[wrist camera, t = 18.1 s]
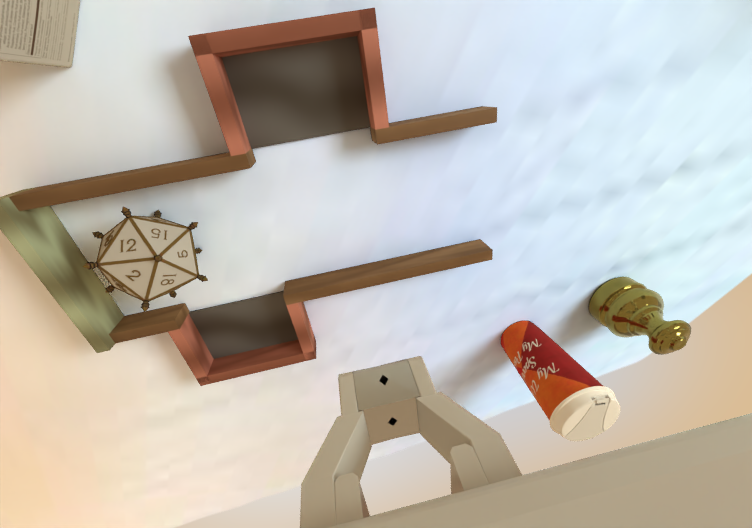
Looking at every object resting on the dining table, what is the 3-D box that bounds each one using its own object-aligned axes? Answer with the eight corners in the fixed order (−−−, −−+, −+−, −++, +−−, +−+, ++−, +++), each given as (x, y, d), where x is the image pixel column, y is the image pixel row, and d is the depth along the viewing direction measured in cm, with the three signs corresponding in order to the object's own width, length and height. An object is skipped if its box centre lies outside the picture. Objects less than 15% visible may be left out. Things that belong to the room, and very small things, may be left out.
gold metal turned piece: (602, 326, 49) (665, 376, 40) (577, 303, 46) (640, 353, 37) (643, 291, 47) (718, 336, 38) (621, 265, 44) (697, 308, 35)
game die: (196, 240, 36) (189, 328, 32) (96, 222, 30) (72, 325, 26) (221, 196, 30) (217, 297, 26) (103, 165, 25) (75, 286, 21)
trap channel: (-54, 81, 24) (-117, 79, 20) (482, -2, 27) (507, -16, 23) (154, 379, 39) (139, 406, 36) (479, 303, 42) (494, 322, 39)
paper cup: (500, 315, 44) (571, 400, 32) (549, 312, 45) (637, 392, 33) (488, 358, 48) (548, 449, 35) (534, 354, 49) (607, 440, 37)
